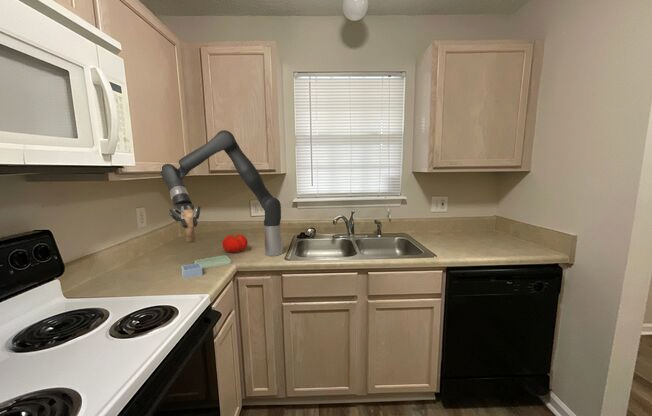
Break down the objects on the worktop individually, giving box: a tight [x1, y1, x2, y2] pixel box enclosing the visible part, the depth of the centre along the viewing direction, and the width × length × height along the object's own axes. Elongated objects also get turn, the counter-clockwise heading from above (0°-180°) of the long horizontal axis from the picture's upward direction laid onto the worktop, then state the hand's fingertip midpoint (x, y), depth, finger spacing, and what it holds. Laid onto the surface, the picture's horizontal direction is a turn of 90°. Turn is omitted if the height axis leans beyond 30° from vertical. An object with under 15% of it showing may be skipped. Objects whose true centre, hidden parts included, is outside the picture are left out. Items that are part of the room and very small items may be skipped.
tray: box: [193, 254, 232, 270], centre depth 142 cm, size 16×12×2 cm
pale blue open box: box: [180, 263, 204, 280], centre depth 127 cm, size 8×8×4 cm
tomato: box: [221, 233, 249, 254], centre depth 165 cm, size 14×16×10 cm
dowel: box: [184, 209, 196, 244], centre depth 124 cm, size 4×4×15 cm
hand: (190, 226), depth 123 cm, fingers closed on dowel, 3 cm apart
